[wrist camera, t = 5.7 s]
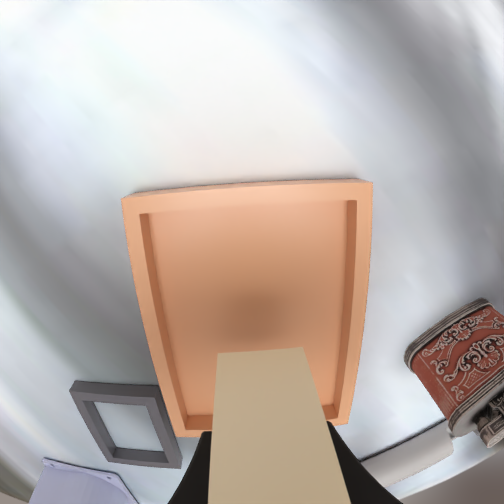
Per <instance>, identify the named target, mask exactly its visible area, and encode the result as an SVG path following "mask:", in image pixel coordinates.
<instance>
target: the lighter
mask: <svg viewBox="0 0 504 504" xmlns="http://www.w3.org/2000/svg"><path fill="white" fill-rule="evenodd" d="M404 362H405V364H406V365H407V367H408V368H409V369H410V371H411V372H412V373H414V374H416V375H417V376H418V378H419V379H420V381H421V382H422V384H423V385H424V386H425V388H426V389H427V391H428V392H429V394H430V395H431V397H432V398H433V400H434V401H435V402H436V404H437V405H438V407H439V408H440V410H441V411H442V413H443V414H444V416H445V417H446V419H447V420H448V427H449V429H450V430H451V432H452V434H453V435H454V436H455V437H461V436H464V435H466V434H468V433H470V432H471V431H473V430H475V429H476V428H477V429H478V432H479V433H480V437H481V439H482V440H483V442H484V443H485V445H486V446H487V448H490V447H491V446H493V445H494V444H496V443H497V442H498V441H500V440H501V439H502V438H504V316H503V315H501V314H500V313H499V312H498V311H496V310H495V309H494V306H493V305H492V304H491V303H490V302H488V301H487V300H486V299H483V298H480V299H478V300H475V301H473V302H471V303H469V304H467V305H465V306H463V307H461V308H460V309H458V310H456V311H455V312H453V313H451V314H450V315H448V316H446V317H445V318H444V319H442V320H441V321H439V322H438V323H437V324H435V325H434V326H432V327H431V328H429V329H428V330H427V331H426V332H424V333H423V334H422V335H421V336H419V337H418V338H417V339H416V340H414V341H413V342H412V343H411V344H410V345H409V346H408V347H407V349H406V351H405V354H404Z"/></svg>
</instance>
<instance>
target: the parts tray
mask: <svg viewBox="0 0 504 504" xmlns="http://www.w3.org/2000/svg"><path fill="white" fill-rule="evenodd" d="M372 197H373V183H372V182H368V181H364V180H360V179H315V180H287V181H266V182H248V183H233V184H220V185H207V186H195V187H184V188H174V189H164V190H155V191H146V192H137V193H133V194H130V195H128V196H126V197H124V198H121V202H122V210H123V218H124V225H125V231H126V238H127V244H128V250H129V256H130V262H131V267H132V273H133V278H134V283H135V288H136V293H137V298H138V302H139V307H140V312H141V316H142V320H143V325H144V329H145V333H146V337H147V341H148V345H149V349H150V353H151V357H152V360H153V364H154V368H155V371H156V375H157V378H158V382H159V385H160V389H161V392H162V395H163V398H164V402H165V405H166V408H167V411H168V414H169V417H170V420H171V423H172V426H173V429H174V432H175V435H176V437H201V433H202V432H204V431H212V424H213V410H214V396H215V382H216V369H217V356H218V353H230V352H247V351H261V350H274V349H285V348H296V347H303V349H304V352H305V355H306V358H307V361H308V364H309V368H310V371H311V374H312V377H313V380H314V383H315V387H316V390H317V393H318V396H319V399H320V403H321V406H322V409H323V412H324V415H325V419H326V421H330V422H331V423H332V424H333V426H337V425H343V424H348V420H349V415H350V410H351V405H352V400H353V395H354V389H355V383H356V378H357V371H358V365H359V359H360V352H361V345H362V337H363V329H364V321H365V312H366V303H367V292H368V281H369V268H370V253H371V233H372Z"/></svg>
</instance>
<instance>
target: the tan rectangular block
mask: <svg viewBox="0 0 504 504" xmlns="http://www.w3.org/2000/svg"><path fill="white" fill-rule="evenodd" d="M208 504H351V502H350V499H349V495H348V492H347V489H346V485H345V482H344V478H343V475H342V472H341V468H340V465H339V462H338V458H337V455H336V452H335V448H334V445H333V442H332V438H331V435H330V432H329V429H328V425H327V422H326V419H325V415H324V412H323V409H322V406H321V403H320V399H319V396H318V393H317V390H316V387H315V383H314V380H313V377H312V374H311V371H310V368H309V364H308V361H307V358H306V355H305V352H304V349H303V347H296V348H285V349H274V350H261V351H247V352H230V353H218V356H217V369H216V382H215V396H214V410H213V424H212V440H211V456H210V474H209V493H208Z"/></svg>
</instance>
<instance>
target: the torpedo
mask: <svg viewBox="0 0 504 504" xmlns="http://www.w3.org/2000/svg"><path fill="white" fill-rule="evenodd" d="M473 431H474V433H475V434H476V435H477V436H480V433H479V432H478V429H477V428H476V429H475V430H473ZM455 438H457V437H455V436H454V435H453V434H452V432H451V430H450V429H449V427H448V420H445V421H443V422H442V423H440V424H438V425H436V426H435V427H433V428H431V429H429V430H427V431H426V432H424V433H422V434H420V435H418V436H416V437H414V438H412V439H410V440H408V441H406V442H404V443H402V444H400V445H398V446H396V447H394V448H392V449H390V450H387V451H385V452H383V453H381V454H378V455H376V456H374V457H371V458H369V459H367V460H364V461H362V462H360V463H361V464H362V465H363V466H364V468H365V469H366V470H367V471H368V472H369V473H370V474H371V475H372V476H373V477H374V478H375V479H376V480H377V481H378V482H379V483H380V484H381V485H382V486H383V487H384V488H385V487H388V486H390V485H392V484H395V483H397V482H399V481H401V480H403V479H405V478H408V477H410V476H413V475H415V474H417V473H419V472H421V471H423V470H424V469H426V468H428V467H430V466H432V465H434V464H436V463H438V462H439V461H441V460H443V459H445V458H446V457H448V456H450V455H452V453H453V444H452V440H454V439H455Z"/></svg>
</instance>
